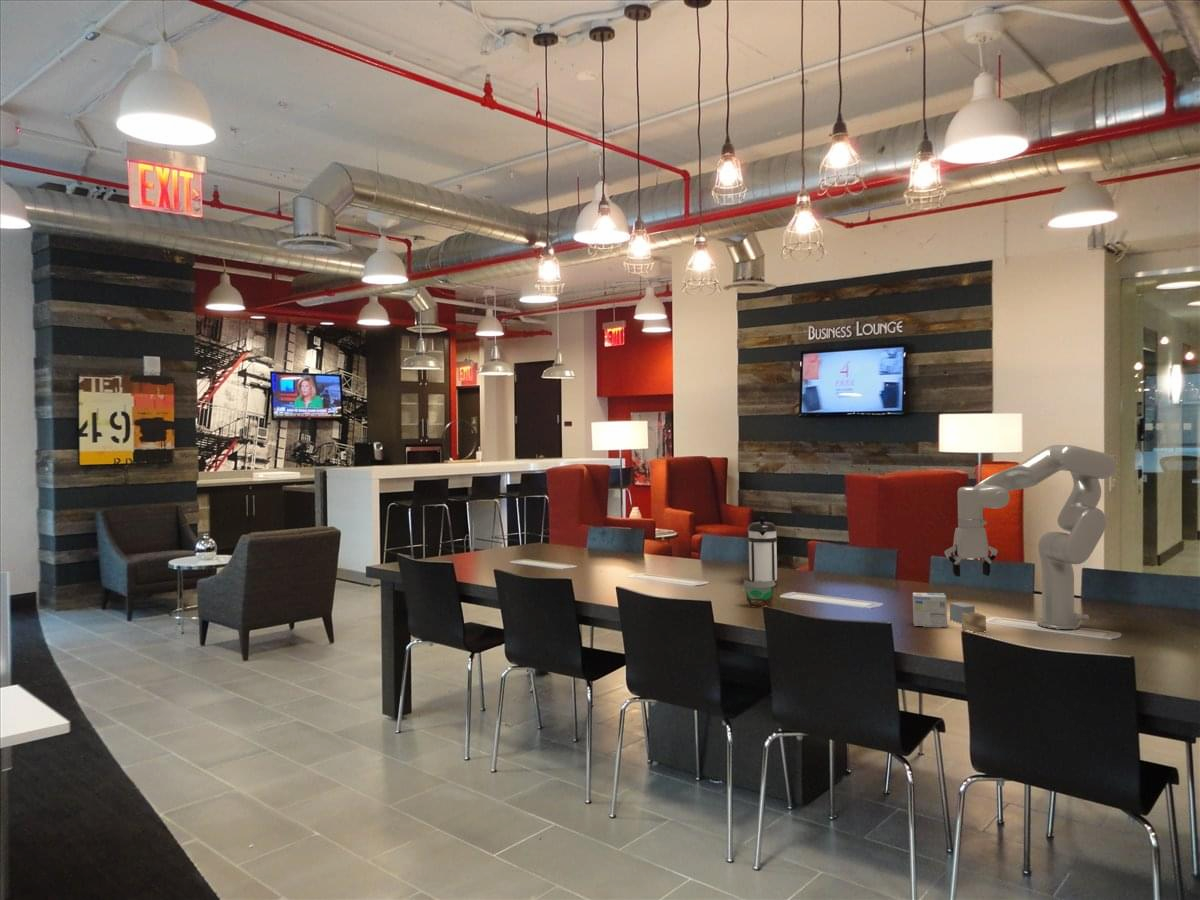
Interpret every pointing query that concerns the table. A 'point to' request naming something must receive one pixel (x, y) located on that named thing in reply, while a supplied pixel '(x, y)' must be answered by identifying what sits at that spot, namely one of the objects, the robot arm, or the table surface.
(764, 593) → the food container
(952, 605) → the slate block
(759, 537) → the coffee press
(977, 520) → the robot arm
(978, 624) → the oak cube
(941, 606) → the light bulb box
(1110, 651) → the table surface
